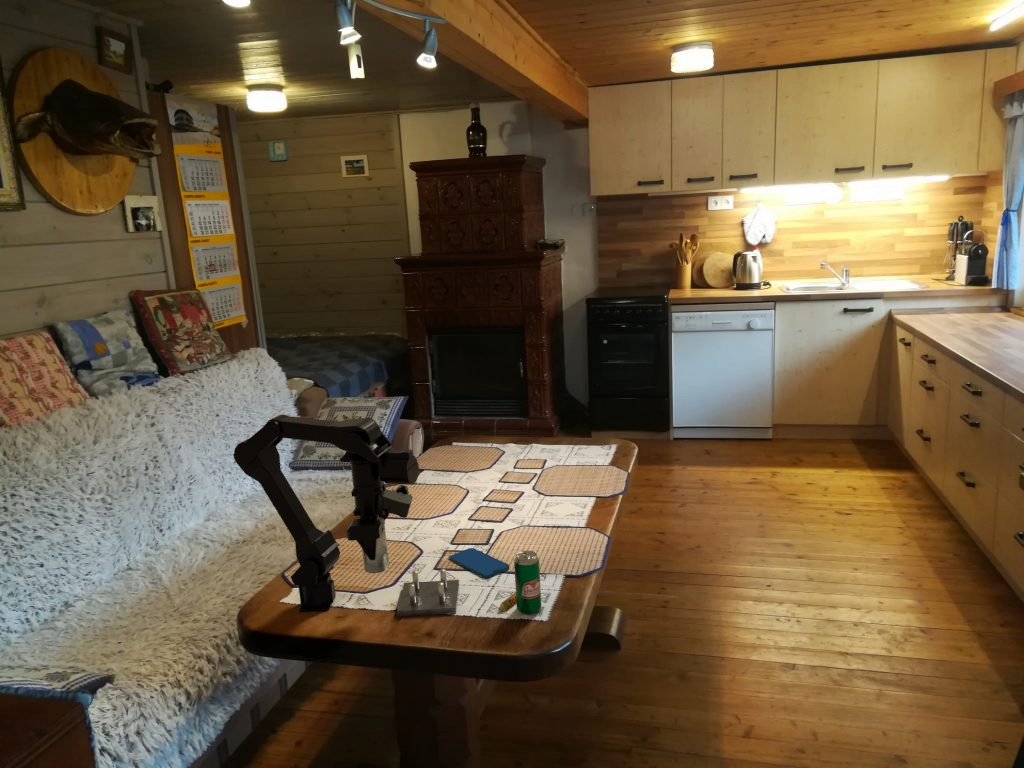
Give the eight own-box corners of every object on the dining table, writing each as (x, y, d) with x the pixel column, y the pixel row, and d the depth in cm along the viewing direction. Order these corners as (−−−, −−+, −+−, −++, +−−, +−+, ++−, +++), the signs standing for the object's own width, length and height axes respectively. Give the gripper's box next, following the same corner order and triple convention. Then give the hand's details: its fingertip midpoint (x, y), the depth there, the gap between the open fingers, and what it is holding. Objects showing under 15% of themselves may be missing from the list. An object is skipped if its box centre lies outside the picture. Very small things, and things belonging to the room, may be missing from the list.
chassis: (397, 616, 156) (395, 593, 155) (404, 587, 167) (402, 566, 166) (455, 613, 156) (454, 589, 155) (459, 584, 168) (457, 563, 166)
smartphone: (471, 547, 185) (511, 565, 174) (471, 550, 185) (511, 569, 174) (446, 557, 181) (486, 576, 169) (447, 560, 181) (486, 580, 169)
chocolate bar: (539, 589, 165) (539, 579, 164) (507, 614, 155) (507, 604, 155) (529, 586, 166) (529, 576, 166) (497, 610, 157) (496, 600, 156)
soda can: (524, 618, 153) (521, 563, 150) (512, 607, 157) (509, 553, 154) (546, 611, 155) (543, 556, 152) (533, 600, 159) (531, 547, 156)
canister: (361, 574, 154) (356, 528, 152) (366, 562, 159) (361, 517, 157) (387, 572, 154) (382, 526, 152) (391, 561, 159) (386, 516, 157)
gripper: (401, 496, 143) (408, 572, 147) (412, 464, 161) (419, 532, 165) (342, 500, 143) (351, 576, 147) (360, 467, 161) (367, 535, 165)
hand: (374, 553), depth 156 cm, fingers closed on canister, 5 cm apart
